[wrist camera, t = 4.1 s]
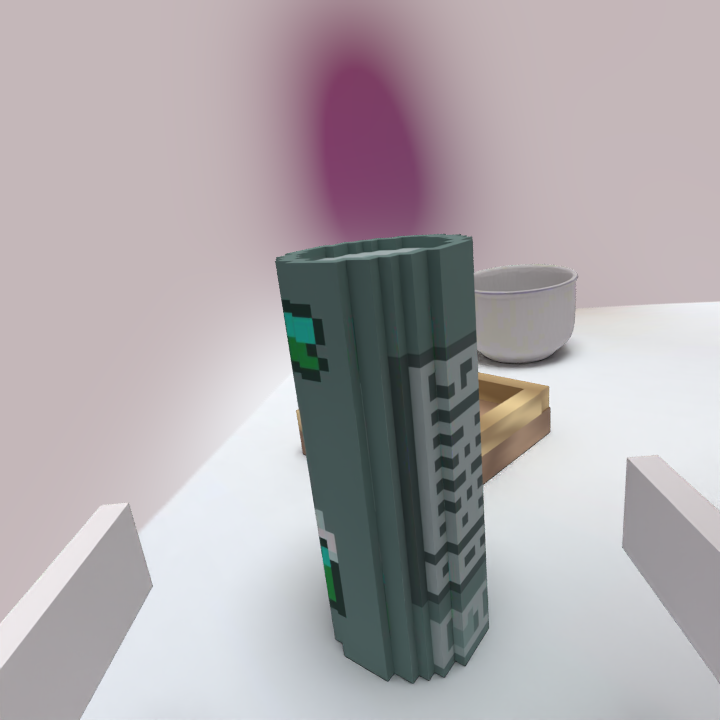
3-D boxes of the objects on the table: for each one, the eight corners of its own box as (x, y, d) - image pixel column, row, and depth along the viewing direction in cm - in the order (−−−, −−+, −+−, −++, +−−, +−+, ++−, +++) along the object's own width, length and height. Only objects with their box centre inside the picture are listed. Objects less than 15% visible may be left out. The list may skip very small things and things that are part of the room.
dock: (415, 396, 43) (412, 359, 42) (550, 431, 35) (550, 386, 34) (303, 453, 36) (296, 410, 35) (441, 517, 27) (436, 461, 26)
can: (390, 547, 25) (356, 238, 21) (509, 594, 22) (499, 231, 17) (306, 633, 21) (239, 263, 16) (437, 711, 17) (398, 261, 13)
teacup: (599, 350, 49) (602, 267, 47) (524, 381, 44) (523, 289, 41) (490, 328, 61) (488, 260, 58) (419, 351, 55) (413, 277, 53)
